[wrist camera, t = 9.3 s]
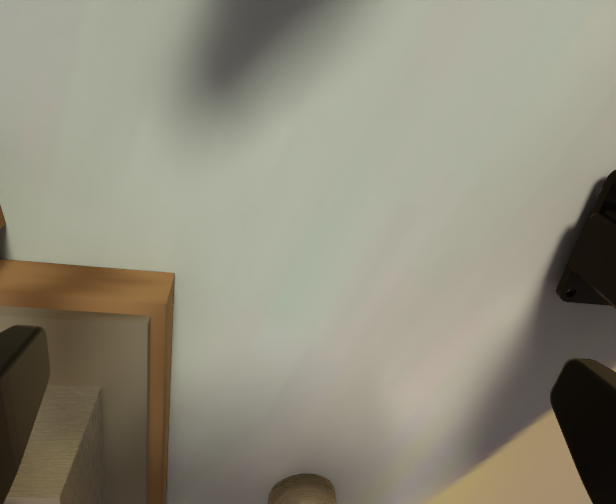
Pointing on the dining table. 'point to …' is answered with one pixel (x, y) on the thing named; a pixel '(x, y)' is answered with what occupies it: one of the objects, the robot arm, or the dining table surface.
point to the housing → (64, 451)
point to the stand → (106, 357)
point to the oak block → (2, 219)
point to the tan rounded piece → (303, 490)
